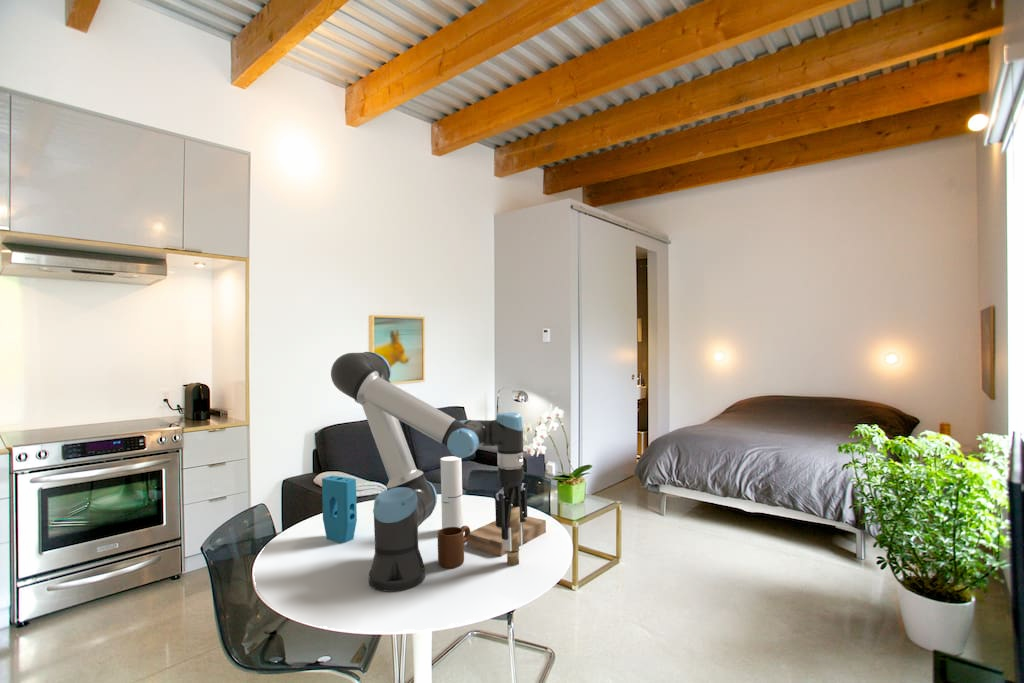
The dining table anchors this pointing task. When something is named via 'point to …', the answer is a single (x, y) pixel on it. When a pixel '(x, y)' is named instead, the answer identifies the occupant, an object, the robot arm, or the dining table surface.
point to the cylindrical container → (451, 492)
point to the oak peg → (514, 536)
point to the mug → (452, 546)
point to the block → (339, 508)
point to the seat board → (491, 535)
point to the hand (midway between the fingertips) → (512, 546)
